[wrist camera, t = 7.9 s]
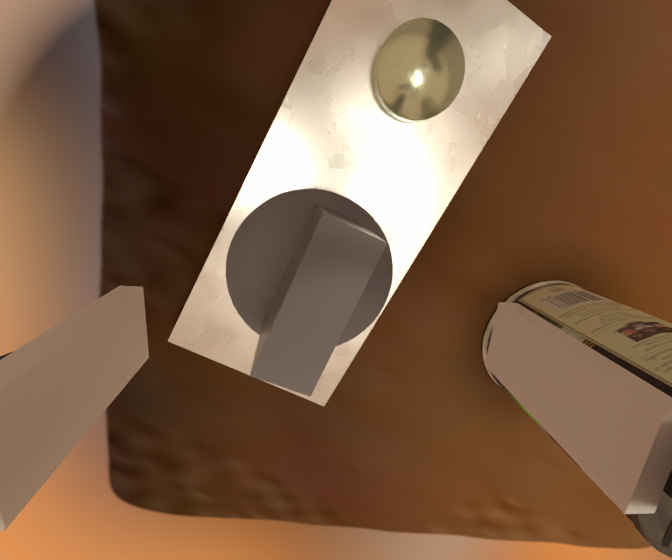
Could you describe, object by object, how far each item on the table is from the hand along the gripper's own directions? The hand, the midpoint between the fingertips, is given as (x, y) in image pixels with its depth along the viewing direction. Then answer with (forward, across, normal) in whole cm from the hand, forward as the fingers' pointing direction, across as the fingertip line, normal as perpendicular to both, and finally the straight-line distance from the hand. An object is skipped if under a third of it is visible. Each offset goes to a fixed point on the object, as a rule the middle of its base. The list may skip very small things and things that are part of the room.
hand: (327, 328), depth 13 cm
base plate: (+13, +2, +4) cm, 13 cm away
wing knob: (+10, 0, 0) cm, 10 cm away
